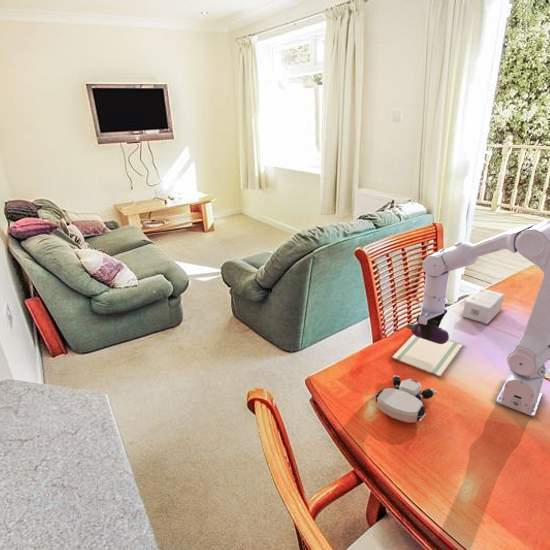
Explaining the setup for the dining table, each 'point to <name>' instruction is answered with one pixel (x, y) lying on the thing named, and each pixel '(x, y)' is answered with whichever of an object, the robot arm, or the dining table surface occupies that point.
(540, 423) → the dining table surface
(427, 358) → the towel
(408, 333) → the dining table surface
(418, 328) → the eggplant
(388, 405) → the robot toy
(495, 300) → the small box
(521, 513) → the dining table surface
